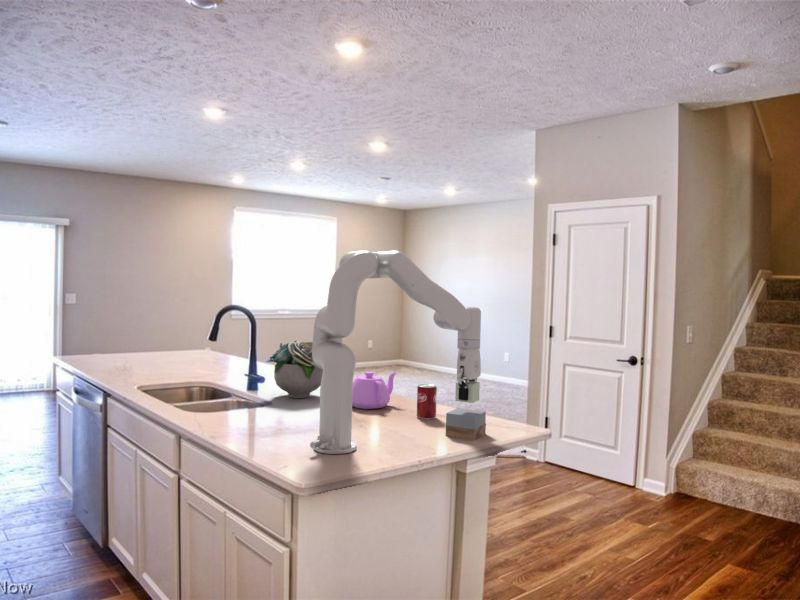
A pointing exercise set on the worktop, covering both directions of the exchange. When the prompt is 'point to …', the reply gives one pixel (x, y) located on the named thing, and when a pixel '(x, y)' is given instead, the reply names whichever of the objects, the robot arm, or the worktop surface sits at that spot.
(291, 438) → the worktop surface
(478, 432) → the block bottom
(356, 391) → the teapot
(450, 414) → the block top
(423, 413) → the soda can
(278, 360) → the flower arrangement
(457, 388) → the sage block
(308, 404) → the worktop surface
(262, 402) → the worktop surface
